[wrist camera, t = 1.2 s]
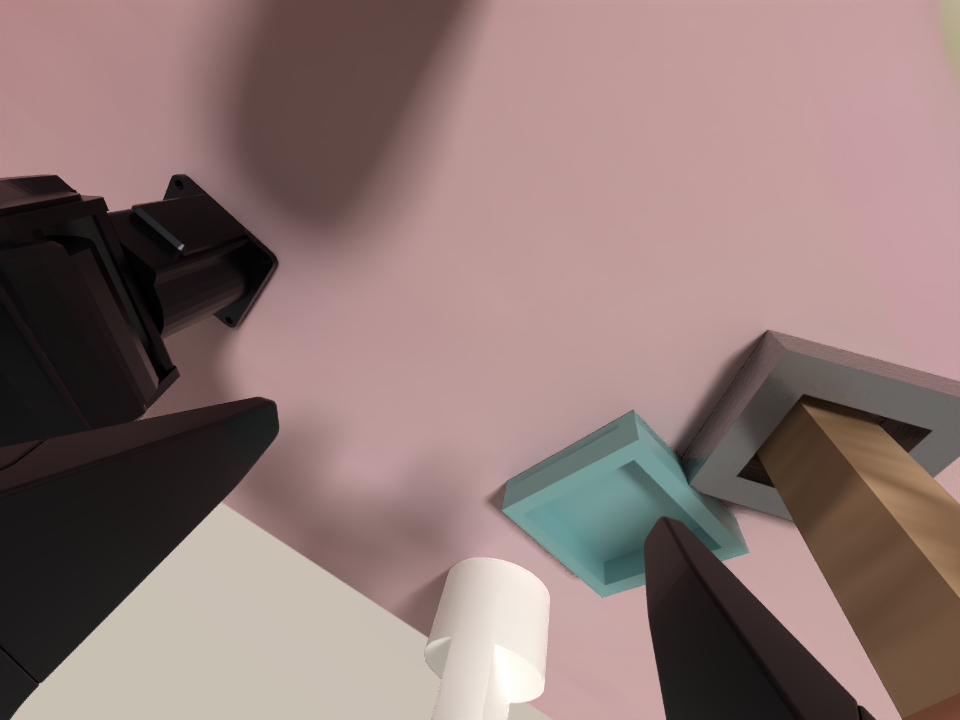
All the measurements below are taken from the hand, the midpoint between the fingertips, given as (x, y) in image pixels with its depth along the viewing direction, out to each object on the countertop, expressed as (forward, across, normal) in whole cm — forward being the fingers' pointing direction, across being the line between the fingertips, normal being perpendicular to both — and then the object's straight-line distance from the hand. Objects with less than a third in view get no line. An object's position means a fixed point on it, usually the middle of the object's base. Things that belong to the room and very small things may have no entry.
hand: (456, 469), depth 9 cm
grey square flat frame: (+13, +16, -4) cm, 21 cm away
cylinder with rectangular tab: (+13, +4, -27) cm, 31 cm away
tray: (+13, +9, -13) cm, 20 cm away
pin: (+13, +16, -4) cm, 21 cm away
